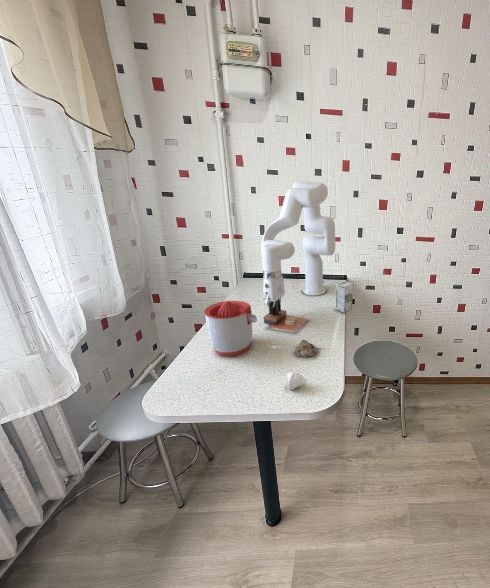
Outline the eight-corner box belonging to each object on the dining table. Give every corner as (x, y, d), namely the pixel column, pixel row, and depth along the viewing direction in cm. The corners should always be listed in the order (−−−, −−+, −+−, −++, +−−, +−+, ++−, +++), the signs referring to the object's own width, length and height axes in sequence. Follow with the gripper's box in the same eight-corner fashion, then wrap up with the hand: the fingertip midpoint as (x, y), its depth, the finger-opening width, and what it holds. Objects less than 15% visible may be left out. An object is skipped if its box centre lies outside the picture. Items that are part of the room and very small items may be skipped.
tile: (282, 316, 155) (282, 314, 154) (308, 320, 152) (308, 318, 152) (267, 328, 143) (267, 326, 143) (295, 333, 140) (295, 331, 140)
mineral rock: (320, 351, 124) (298, 348, 121) (317, 361, 125) (296, 359, 122) (315, 338, 133) (295, 335, 130) (312, 348, 134) (293, 345, 131)
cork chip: (287, 320, 149) (287, 317, 148) (296, 321, 149) (296, 318, 148) (285, 324, 145) (284, 321, 145) (294, 325, 145) (294, 322, 145)
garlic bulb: (305, 392, 105) (305, 378, 103) (286, 392, 105) (285, 378, 103) (308, 381, 110) (307, 368, 108) (289, 381, 110) (289, 368, 108)
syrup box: (343, 306, 169) (343, 280, 163) (352, 310, 166) (352, 283, 160) (335, 310, 164) (335, 282, 159) (344, 313, 161) (345, 285, 156)
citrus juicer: (255, 359, 121) (250, 309, 114) (204, 361, 118) (196, 310, 111) (262, 338, 135) (258, 292, 128) (217, 339, 132) (210, 293, 125)
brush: (274, 314, 153) (273, 296, 150) (286, 316, 152) (285, 298, 149) (264, 322, 145) (262, 304, 142) (276, 324, 144) (275, 306, 140)
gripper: (269, 280, 132) (273, 321, 139) (289, 269, 147) (291, 307, 154) (253, 278, 134) (257, 319, 140) (274, 267, 149) (277, 304, 155)
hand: (275, 312), depth 147 cm, fingers closed on brush, 3 cm apart
